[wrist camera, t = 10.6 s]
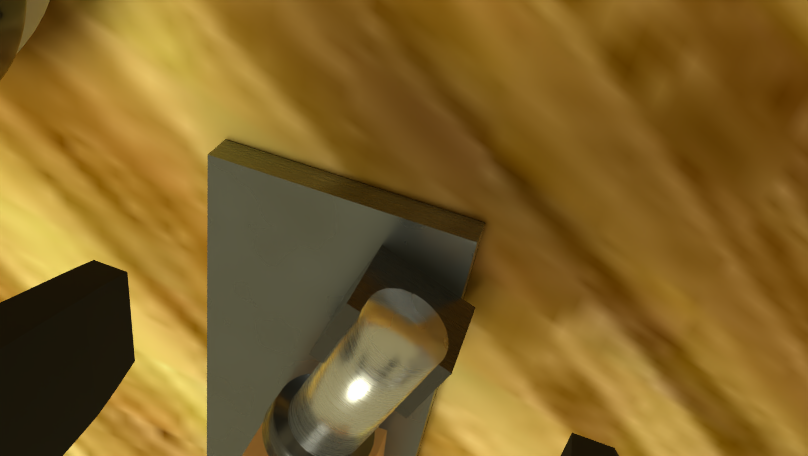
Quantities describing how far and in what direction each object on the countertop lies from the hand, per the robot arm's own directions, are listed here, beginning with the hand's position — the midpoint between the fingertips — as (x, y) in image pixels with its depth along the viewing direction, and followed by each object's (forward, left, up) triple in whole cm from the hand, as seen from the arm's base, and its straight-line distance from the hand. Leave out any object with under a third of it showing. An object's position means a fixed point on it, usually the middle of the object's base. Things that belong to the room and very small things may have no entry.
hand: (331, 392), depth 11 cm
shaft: (+1, +7, -9) cm, 12 cm away
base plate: (+3, +14, -9) cm, 17 cm away
